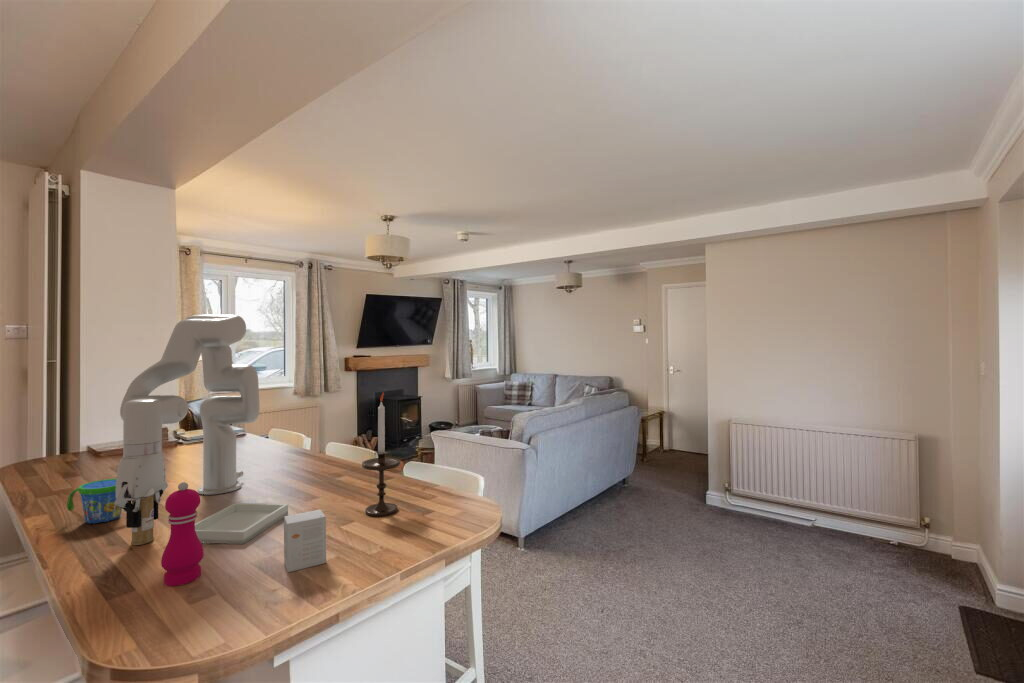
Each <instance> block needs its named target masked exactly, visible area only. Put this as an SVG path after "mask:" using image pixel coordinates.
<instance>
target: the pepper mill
mask: <svg viewBox="0 0 1024 683" xmlns="http://www.w3.org/2000/svg"><path fill="white" fill-rule="evenodd" d="M177 489H178V490H174V492H172V493H171V494H169V495H168V496H167V497H166V500H165V505H164V507H165V511H166V512H168V514H169V515H168V516H167V518H168V520H167V523H168V524H170V535H169V538H168V542H167V544H166V546H165V548H164V551H163V553H162V555H161V562H160V563H161V564H160V565H161V567H162V569H163V570H165V571H166V572H164V575H163V583H164V585H165V586H167V587H179V586H182V585H186V584H189V583H192V582H194V581H196V580H198V579H199V578H200V576H201V574H202V566H201V564H200V563H201V561H202V560H203V558H204V554H205V552H204V547H203V543H201V542H200V540H199V538H198V536H197V534H196V531H195V523H196V520H197V519H198V510H197V508H199V506H200V504H201V494H199V493H198V490H195V489H192V488H189V484H188V483H187V482H186V481H184V482H180V483H179V484H178V485H177Z"/></svg>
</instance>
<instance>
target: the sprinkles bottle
mask: <svg viewBox="0 0 1024 683" xmlns="http://www.w3.org/2000/svg"><path fill="white" fill-rule="evenodd" d="M153 496H154V489H153V488H152V489H150V490H149V492H148V494H147V495H146V496H144V497H141V499H140V505H139V510H141V526H140V527H138V528H131V531H130V532H131V541H130V542H131V544H130V545H131V546H132V545H133V546H143V545H146V544H148V543H151V542H153V541H154V540H155V536H154V526H155V520H154V507H153V506H154V503H153V500H154V497H153ZM131 503H132V504H134V501H131Z"/></svg>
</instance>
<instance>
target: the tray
mask: <svg viewBox="0 0 1024 683" xmlns="http://www.w3.org/2000/svg"><path fill="white" fill-rule="evenodd" d="M284 516H289V504H288V503H237V502H236V503H232V504H230V505H229V506H226V507H225V508H222V509H221V510H218V511H216V512H214V513H213V514H211V515H209V516H206V517H205V518H204V519H201V520H200V521H198V522H195V531H196V534H197V536H198V538H199V540H200V542H204V543H203V544H210V543H226V544H225V545H245V544H246V543H247V542H249V541H251V540H252V539H254V538H255V537H257V536H258V535H260V534H262V533H263V532H264V531H266V530H268V529H269V528H271V527H272V526H273V525H275V524H276V523H278V522H279V521H281V520H282V519H284ZM227 543H228V544H227Z"/></svg>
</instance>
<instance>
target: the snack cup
mask: <svg viewBox="0 0 1024 683" xmlns="http://www.w3.org/2000/svg"><path fill="white" fill-rule="evenodd" d="M116 479H117V478H108V479H107V478H106V479H100V480H94V481H91V482H86V483H83V484H81V485H79V486H78V488H75V489H73V491H71V492H70V493H69V495H68V497H67V501H66V508H67V511H69V512H73V510H74V509H75V504H74V501H73V498H74V496H75V493H76V492H78V493H79V495H80V500H81V507H82V512H83V518H84V521H85V522H86V523H87V524H89V525H90V524H91V523H92V524H99V523H107V522H109V521H110V520H111V521H114V520H116V519H119V518H120V517H121V515H122V511H123V509H122V508H121V507H120V506H117V505H115V504H114V503H115V501H116V499H117V498H116ZM111 521H110V522H111Z"/></svg>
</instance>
